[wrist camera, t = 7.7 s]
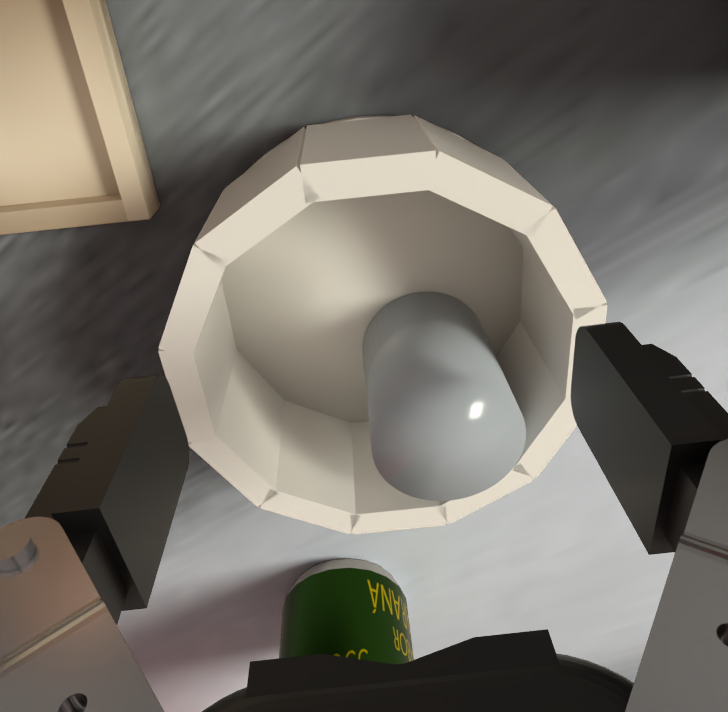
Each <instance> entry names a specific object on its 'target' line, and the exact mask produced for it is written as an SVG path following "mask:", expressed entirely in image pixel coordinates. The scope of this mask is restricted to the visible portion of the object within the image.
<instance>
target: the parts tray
mask: <svg viewBox="0 0 728 712" xmlns="http://www.w3.org/2000/svg"><path fill="white" fill-rule="evenodd" d="M159 207H160V203H159V199H158V195H157V192H156V188H155V184H154V180H153V177H152V173H151V169H150V166H149V162H148V158H147V154H146V151H145V147H144V143H143V139H142V136H141V132H140V128H139V124H138V121H137V117H136V113H135V109H134V106H133V102H132V98H131V94H130V91H129V87H128V83H127V79H126V76H125V72H124V68H123V64H122V61H121V57H120V53H119V49H118V46H117V42H116V38H115V34H114V31H113V27H112V23H111V20H110V16H109V12H108V8H107V5H106V1H105V0H0V235H3V234H12V233H22V232H31V231H41V230H50V229H60V228H70V227H79V226H89V225H98V224H108V223H117V222H127V221H137V220H146V219H150V218H151V217H152V216H153V215H154V213H155V212H156V211H157V210H158V208H159Z"/></svg>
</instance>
